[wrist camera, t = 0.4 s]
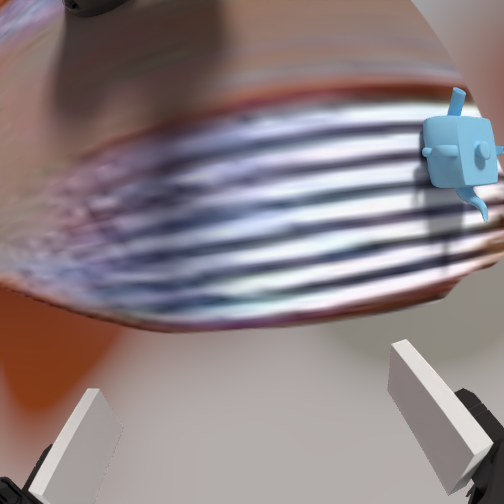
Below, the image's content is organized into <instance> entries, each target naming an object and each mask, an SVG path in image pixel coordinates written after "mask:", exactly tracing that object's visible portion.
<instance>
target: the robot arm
mask: <svg viewBox="0 0 504 504" xmlns="http://www.w3.org/2000/svg"><path fill="white" fill-rule="evenodd" d="M62 1H63V4H64V6H65V7H66V8H67V9H68V10H69V11H70V12H71V13H73V14H74V15H76V16H81V17H89V16H95V15H98V14H102V13H104V12H107V11H109V10H111V9H113V8H115V7H117V6H119V5H120V4H122V3H123V2H125V1H126V0H62ZM388 392H389V394H390V395H391V397H392V398H393V400H394V402H395V403H396V405H397V407H398V408H399V410H400V411H401V413H402V415H403V417H404V418H405V420H406V422H407V423H408V425H409V427H410V429H411V430H412V432H413V433H414V435H415V437H416V439H417V441H418V442H419V444H420V446H421V447H422V449H423V451H424V453H425V454H426V456H427V458H428V459H429V462H430V463H431V465H432V467H433V469H434V470H435V472H436V474H437V476H438V478H439V479H440V481H441V483H442V485H443V487H444V489H445V491H446V493H447V494H448V496H449V495H450V494H452V493H454V492H456V491H458V490H459V489H461V488H463V487H465V486H466V485H467V483H468V482H469V481H470V479H471V478H472V480H473V482H474V485H473V486H472V488H471V489H470V490H469V491H468V493H467V495H466V497H468V496H469V495H470V494H471V495H470V499H469V502H468V504H504V428H503V426H502V425H501V424H500V423H499V422H498V420H497V419H496V418H495V417H494V416H493V415H492V413H491V412H490V411H489V410H487V408H486V407H485V405H484V404H482V403H481V401H480V400H479V399H478V397H477V396H476V395H475V394H474V393H472V392H470V391H468V390H466V389H464V388H463V389H461V390H459V391H457V392H455V393H453V392H452V391H451V390H450V388H449V387H448V386H447V385H446V384H445V382H444V381H443V380H442V379H441V378H440V377H439V375H438V374H437V373H436V372H435V371H434V370H433V369H432V367H431V366H430V365H429V364H428V363H427V362H426V361H425V359H424V358H423V357H422V356H421V355H420V354H419V353H418V352H417V351H416V349H414V347H413V346H412V345H411V344H410V343H409V342H408V341H407V340H406V339H405V340H402V341H399V342H396V343H393V344H391V355H390V369H389V380H388ZM122 430H123V427H122V425H121V424H120V422H119V420H118V419H117V417H116V416H115V414H114V412H113V410H112V409H111V407H110V405H109V404H108V402H107V400H106V398H105V397H104V395H103V393H102V391H101V389H90V388H88V389H87V391H86V392H85V394H84V395H83V397H82V398H81V400H80V402H79V403H78V405H77V407H76V408H75V409H74V411H73V413H72V414H71V416H70V418H69V419H68V421H67V423H66V424H65V426H64V428H63V429H62V431H61V433H60V434H59V436H58V438H57V439H56V441H55V443H54V444H51V445H50V446H49V447H47V448H46V449H45V450H44V451H43V453H42V455H41V457H40V458H39V460H38V462H37V463H36V467H34V469H33V471H32V472H31V474H30V476H29V478H28V480H27V482H26V483H25V485H24V487H23V488H22V490H21V489H20V488H19V487H17V485H15V484H14V482H12V481H11V480H10V479H9V478H8V477H0V504H94V503H95V500H96V498H97V495H98V492H99V489H100V487H101V484H102V481H103V479H104V476H105V474H106V471H107V468H108V466H109V463H110V461H111V458H112V455H113V453H114V450H115V448H116V445H117V443H118V441H119V438H120V436H121V433H122Z"/></svg>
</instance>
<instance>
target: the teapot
mask: <svg viewBox="0 0 504 504" xmlns="http://www.w3.org/2000/svg"><path fill="white" fill-rule="evenodd" d="M465 95H466V93H465V92H464V91H463V90H461V89H459V88H453V93H452V97H451V102H450V106H449V110H448V114H447V116H436V117H431V118H428V119H426V120H425V121H424V122H423V133H422V137H423V140H424V141H425V148H423V150H422V154H423V156H424V157H427V163H428V166H427V171H428V174H429V175H430V179H431V183H432V184H433V185H434V186H436V187H440V188H455V190H456V193H457V194H458V196H459V197H460V198H461V199H462V200H464V201H465V202H467V203H469V204H471V205H473V206H475V207H476V208H478V209H479V211H480V212H481V214H482V216H483V219H484V221H485V222H487V221H488V211H487V207H486V205H485V203H484V202H483V201H482V200H481V199H480V198H478V197H477V196H476V195H475V193H474V190H473V187H474V186H481V185H488V184H495V183H497V180H498V169H497V156H498V155H501V154H504V147H503V146H495V142H494V136H493V131H492V127H491V123H490V121H489V120H488V119H484V118H477V117H469V116H460V115H461V111H462V107H463V103H464V99H465Z"/></svg>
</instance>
